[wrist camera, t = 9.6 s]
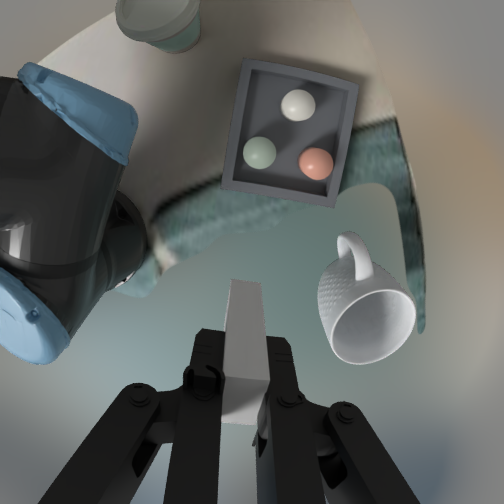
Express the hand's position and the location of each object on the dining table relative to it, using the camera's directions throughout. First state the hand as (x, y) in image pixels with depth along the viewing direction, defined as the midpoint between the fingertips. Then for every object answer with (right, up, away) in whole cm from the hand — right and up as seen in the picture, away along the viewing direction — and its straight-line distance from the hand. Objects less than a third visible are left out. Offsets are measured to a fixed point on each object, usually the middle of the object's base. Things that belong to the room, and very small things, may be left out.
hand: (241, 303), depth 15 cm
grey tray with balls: (+5, +18, +19) cm, 26 cm away
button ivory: (+6, +20, +17) cm, 26 cm away
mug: (+14, 0, +27) cm, 30 cm away
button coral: (+8, +14, +19) cm, 25 cm away
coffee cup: (-9, +30, +14) cm, 35 cm away
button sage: (+1, +15, +19) cm, 24 cm away
